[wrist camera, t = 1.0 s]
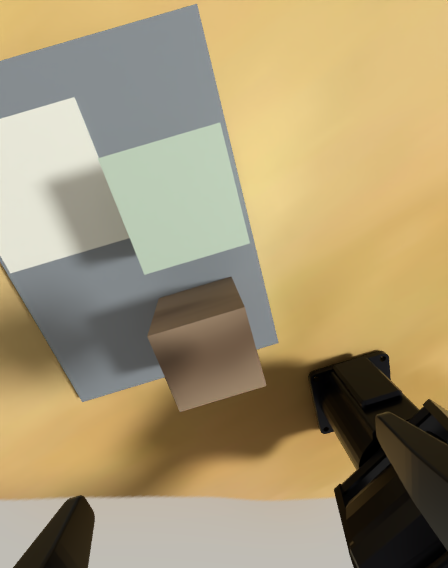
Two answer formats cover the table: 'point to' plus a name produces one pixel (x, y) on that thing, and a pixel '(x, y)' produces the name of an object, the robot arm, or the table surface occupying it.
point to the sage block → (177, 198)
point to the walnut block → (205, 344)
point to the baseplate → (105, 193)
